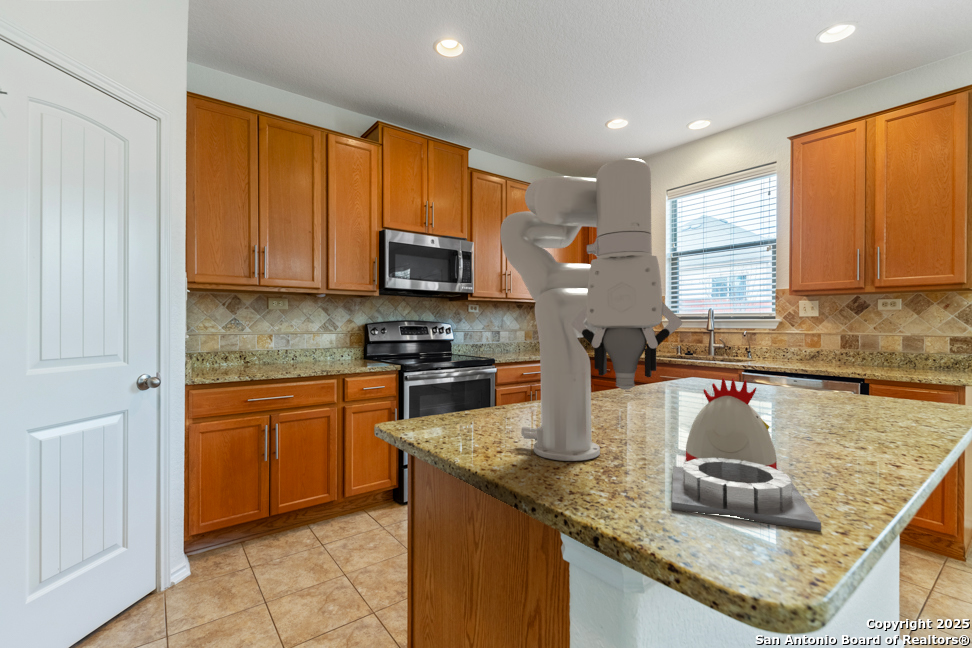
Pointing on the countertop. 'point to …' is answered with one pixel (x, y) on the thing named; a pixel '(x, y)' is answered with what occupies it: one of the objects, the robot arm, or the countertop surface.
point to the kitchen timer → (730, 429)
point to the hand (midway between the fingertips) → (625, 374)
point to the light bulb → (625, 353)
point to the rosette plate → (763, 515)
